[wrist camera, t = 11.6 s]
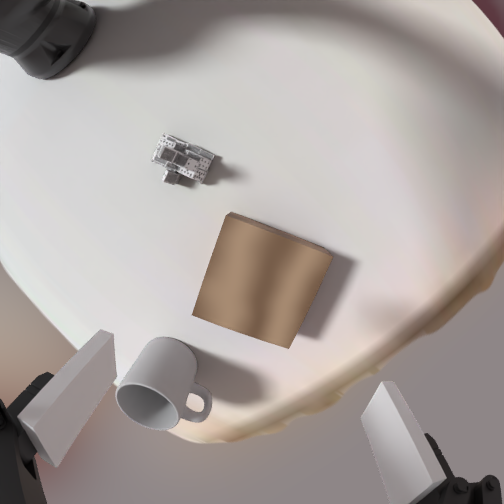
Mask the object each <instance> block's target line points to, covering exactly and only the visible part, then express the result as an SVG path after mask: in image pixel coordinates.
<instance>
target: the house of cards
mask: <svg viewBox="0 0 504 504" xmlns="http://www.w3.org/2000/svg"><path fill="white" fill-rule="evenodd" d="M200 150H201V151H200ZM214 156H215V155H214V154H211V153H209V152H206V151H204V150H202V149H201V148H199V147H197V146H194V145H192V144H190V143H188V144H186V143H184V142H182V141H178V140H176V139H175V138H173V137H171V136H169V135H167V134H165V133H163V134H162V136H161V138H160V140H159V142H158V144H157V147H156V149H155V151H154V154H153V156H152V159H151V161H152V162H156V163H158V164H160V165H162V166H163V167H165V168H167V169H166V171H165V173H164V175H163V177H162V180H163V181H164V182H166V183H169V184H173V185H175V184H178V182H179V180H180V178H181V176H182V175H180V174H177V173H175V172H176V171H177V172H178V173H181V174H183V175H185V176H187V177H189V178H191V179H194V180H196V181H198V182H200V183H203V181H204V179H205V177H206V175H207V173H208V171H209V170H208V168H209V166H210V164H211V162H212V160H213V158H214ZM168 169H169V170H168ZM173 171H174V172H173Z"/></svg>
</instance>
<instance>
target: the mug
mask: <svg viewBox="0 0 504 504" xmlns="http://www.w3.org/2000/svg"><path fill="white" fill-rule="evenodd" d="M196 372H197V360H196V357H195V355H194V354H193V352H192V351H191V350H190V349H189V348H188V347H187V346H186V345H185V344H183V343H182V342H180V341H178V340H176V339H173V338H169V337H159V338H155V339H153V340H151V341H150V342H149V343H147V345H146V346H145V347H144V349H143V350H142V352H141V354H140V355H139V357H138V358H137V360H136V361H135V362H134V364H133V365H132V367H131V368H130V370H129V371H128V373H127V374H126V376H125V377H124V379H123V380H122V381H121V383H120V384H119V386H118V388H117V390H116V401H117V403H118V405H119V407H120V409H121V410H122V411H123V412H124V414H125V415H126V416H128V417H129V418H130V419H131V420H133V421H134V422H136V423H138V424H139V425H142V426H144V427H147V428H150V429H154V430H168V429H171V428H173V427H175V426H176V425H177V424H178V422H179V420H180V418H182V419H185V420H188V421H191V422H202V421H204V420H205V419H206V418H207V417H208V415H209V413H210V411H211V408H212V395H211V393H210V392H209V390H207V389H206V388H205V387H203V386H201V385H199V384H197V383H195V382H194V378H195V375H196ZM189 393H193V394H196V395H199V396H200V397H201V398H202V399H203V400H204V409H203V411H202V412H195V411H193V410H191V409H189V408H188V407H187V406H186V401H187V397H188V395H189Z"/></svg>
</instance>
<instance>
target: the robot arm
mask: <svg viewBox="0 0 504 504" xmlns="http://www.w3.org/2000/svg"><path fill="white" fill-rule="evenodd" d="M95 22H96V14H95V12H94V10H93V9H92V8H91V7H90V6H89V5H87V4H86V3H84V2H80V1H76V0H0V53H2V54H5V55H8V56H11V57H13V58H14V59H15V60H16V61H17V63H18V64H19V65H20V66H21V67H22V68H23V69H24V71H25V72H26V73H27V74H28V75H30V76H32V77H35V78H38V79H46V78H49V77H51V76H53V75H55V74H57V73H58V72H60V71H61V70H62V69H63V68H65V67H66V66H67V65H68V64H69V63H70V62H71V61H72V60H73V59H74V58H75V57H76V56H77V55H78V53H79V52H80V51H81V50H82V48H83V47H84V46H85V44H86V42H87V41H88V39H89V37H90V36H91V34H92V31H93V29H94V26H95ZM116 377H117V373H116V362H115V349H114V334H112V333H109V332H106V331H103V330H101V329H100V330H99V331H98V332H97V333H96V334H95V335H94V336H93V337H92V338H91V339H90V340H89V341H88V342H87V343H86V344H85V345H84V346H83V347H82V348H81V349H80V350H79V351H78V352H77V353H76V354H75V355H74V356H73V357H72V358H71V359H70V360H69V361H68V362H67V363H66V364H65V365H64V366H63V367H62V368H61V369H60V370H59V372H58V373H57V374H56V375H55V376H54V375H53V374H51V373H49V372H46V373H44V374H42V375H39V376H38V377H37V378H36V379H35V380H34V381H33V382H32V383H31V385H29V386H28V387H27V388H26V390H24V391H23V392H22V393H21V394H20V395H19V396H18V397H17V398H16V399H15V400H14V401H13V402H12V403H11V405H10V406H9V407H8V408H7V409H6V407H5V405H4V403H3V402H2V400H1V399H0V504H47V502H46V498H45V495H44V492H43V488H42V485H41V481H40V477H39V473H38V469H37V464H36V460H35V458H34V455H35V454H36V452H38V454H39V455H40V457H41V458H42V459H43V460H44V461H46V462H48V463H49V464H51V465H53V466H54V467H56V468H57V467H58V466H59V464H60V462H61V461H62V459H63V457H64V456H65V454H66V452H67V451H68V450H69V448H70V446H71V445H72V443H73V442H74V440H75V439H76V437H77V436H78V434H79V432H80V431H81V429H82V428H83V426H84V425H85V423H86V422H87V420H88V419H89V417H90V416H91V414H92V413H93V411H94V410H95V408H96V407H97V405H98V404H99V402H100V400H101V399H102V398H103V396H104V395H105V393H106V392H107V390H108V389H109V388H110V386H111V385H112V383H113V382H114V380H115V379H116ZM360 419H361V421H362V424H363V427H364V430H365V432H366V435H367V438H368V441H369V443H370V446H371V449H372V452H373V455H374V458H375V460H376V463H377V466H378V469H379V472H380V475H381V478H382V481H383V484H384V487H385V490H386V493H387V496H388V499H389V503H390V504H502V498H501V488H500V483H499V480H498V479H497V478H496V477H495V476H493V475H487V476H486V477H484V478H483V479H482V480H481V481H480V482H477V483H468V482H467V480H465V479H464V478H461V477H456V478H455V476H454V475H453V473H452V471H451V469H450V467H449V465H448V463H447V462H446V460H445V458H444V456H443V455H442V452H441V450H440V449H438V445H437V443H436V442H435V440H434V439H433V438H432V437H431V436H430V435H429V434H428V433H426V434H424V433H423V432H422V430H421V428H420V426H419V424H418V423H417V421H416V419H415V417H414V415H413V414H412V412H411V410H410V408H409V407H408V405H407V403H406V402H405V400H404V398H403V397H402V395H401V393H400V392H399V390H398V388H397V386H396V385H395V383H394V381H381V383H380V385H379V387H378V389H377V391H376V392H375V394H374V396H373V397H372V399H371V401H370V403H369V404H368V406H367V408H366V410H365V411H364V413H363V414H362V416H361V418H360Z"/></svg>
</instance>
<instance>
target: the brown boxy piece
mask: <svg viewBox="0 0 504 504" xmlns="http://www.w3.org/2000/svg"><path fill="white" fill-rule="evenodd" d="M332 258H333V256H332V255H331V254H330V253H329V252H328V251H327V250H326V249H325V248H323V247H321V246H318V245H316V244H313V243H311V242H308V241H306V240H303V239H301V238H298V237H296V236H293V235H291V234H288V233H286V232H283V231H280V230H278V229H275V228H273V227H270V226H267V225H265V224H262V223H260V222H257V221H254V220H252V219H249V218H246V217H244V216H241V215H238V214H236V213H233V212H230V213H229V214H227V215H226V217H225V219H224V222H223V225H222V228H221V231H220V233H219V236H218V239H217V242H216V245H215V248H214V250H213V253H212V256H211V259H210V262H209V265H208V268H207V271H206V274H205V277H204V280H203V283H202V286H201V289H200V292H199V295H198V298H197V301H196V304H195V307H194V310H193V313H192V315H193V316H195V317H198V318H201V319H203V320H206V321H209V322H211V323H214V324H217V325H219V326H222V327H225V328H228V329H230V330H233V331H236V332H239V333H242V334H245V335H248V336H251V337H254V338H257V339H260V340H263V341H266V342H269V343H272V344H275V345H278V346H281V347H285V348H288V349H289V348H290V346H291V344H292V342H293V340H294V338H295V336H296V334H297V332H298V330H299V328H300V326H301V324H302V322H303V320H304V318H305V316H306V314H307V312H308V310H309V308H310V306H311V304H312V302H313V300H314V298H315V296H316V293H317V291H318V289H319V287H320V285H321V283H322V281H323V278H324V276H325V274H326V272H327V270H328V267H329V265H330V263H331V261H332Z"/></svg>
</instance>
